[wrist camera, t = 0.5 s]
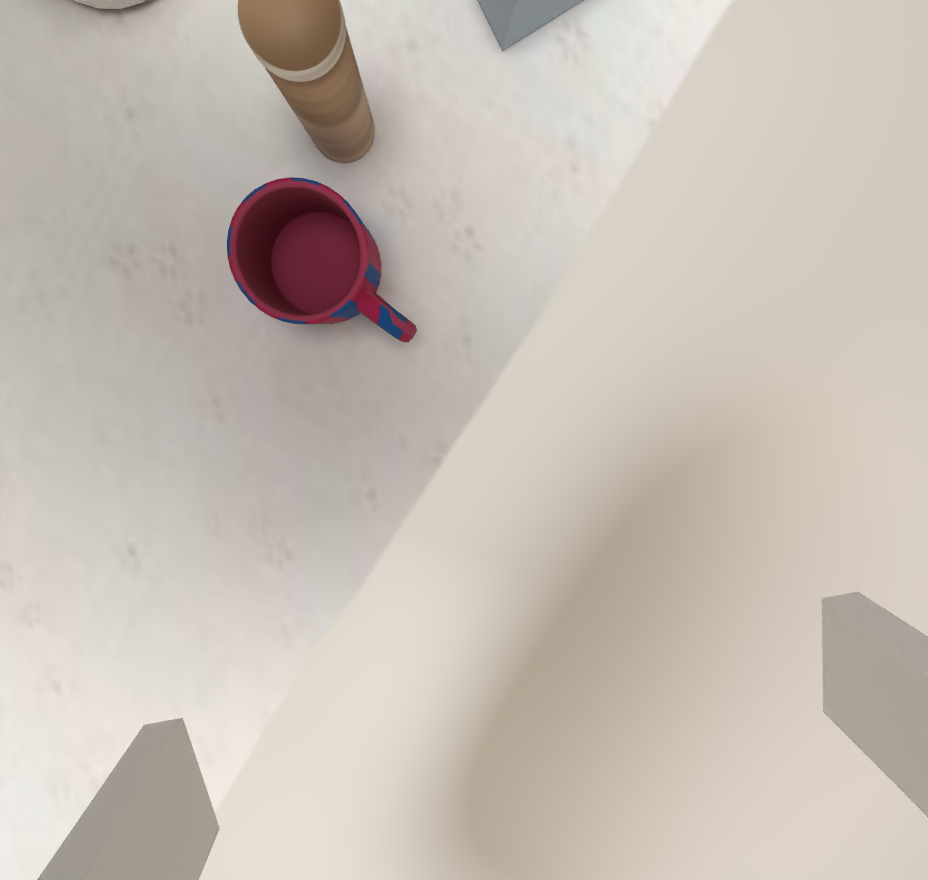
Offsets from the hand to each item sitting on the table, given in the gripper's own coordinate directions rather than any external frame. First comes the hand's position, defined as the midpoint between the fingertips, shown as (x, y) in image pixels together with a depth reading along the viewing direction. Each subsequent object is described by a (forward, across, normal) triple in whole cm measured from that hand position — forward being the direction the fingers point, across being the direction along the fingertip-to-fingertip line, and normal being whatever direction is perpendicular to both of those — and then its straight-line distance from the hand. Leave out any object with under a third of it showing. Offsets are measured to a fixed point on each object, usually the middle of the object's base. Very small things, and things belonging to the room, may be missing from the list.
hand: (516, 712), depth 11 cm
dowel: (+25, -3, +19) cm, 32 cm away
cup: (+25, -5, +10) cm, 28 cm away
